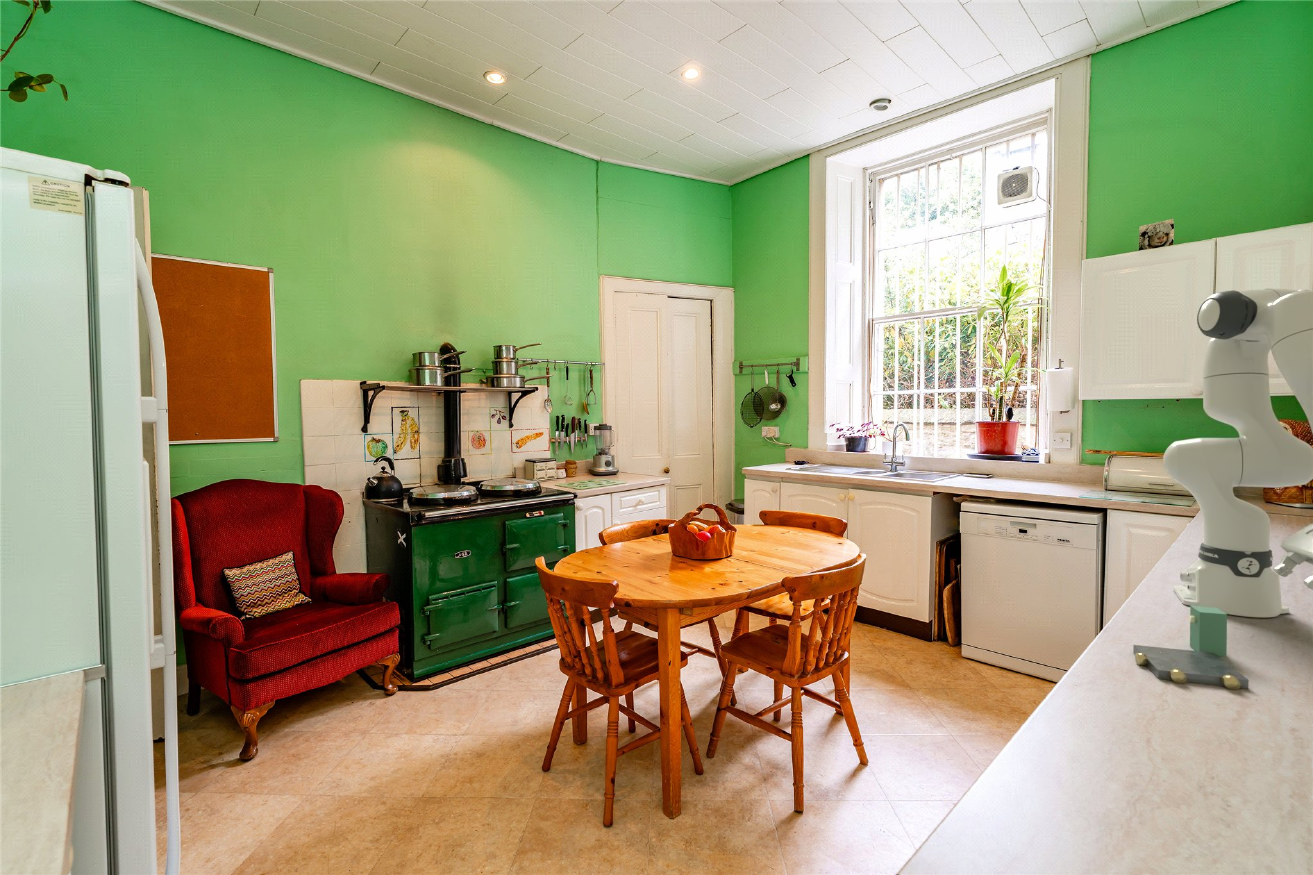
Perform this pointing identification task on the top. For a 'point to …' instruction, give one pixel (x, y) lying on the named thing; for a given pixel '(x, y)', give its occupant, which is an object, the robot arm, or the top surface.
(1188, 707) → the top surface
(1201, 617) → the block
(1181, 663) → the level base plate
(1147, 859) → the top surface
